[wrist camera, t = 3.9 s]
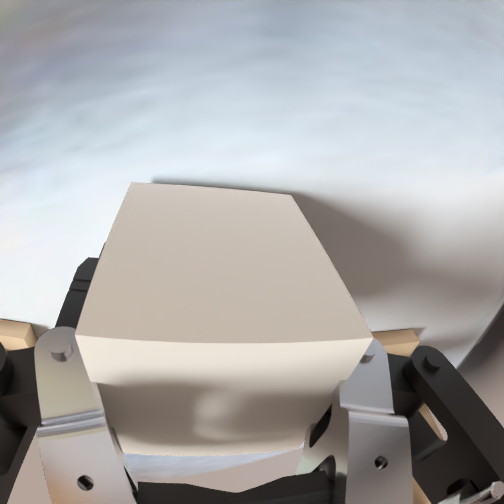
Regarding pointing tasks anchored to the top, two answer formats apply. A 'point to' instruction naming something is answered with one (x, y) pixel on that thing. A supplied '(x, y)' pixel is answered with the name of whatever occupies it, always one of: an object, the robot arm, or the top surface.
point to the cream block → (216, 323)
